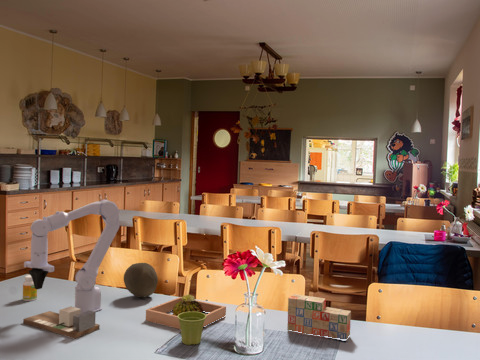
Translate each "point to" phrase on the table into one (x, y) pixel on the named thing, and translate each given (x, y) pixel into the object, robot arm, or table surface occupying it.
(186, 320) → the plant pot
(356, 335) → the table surface
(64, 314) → the block
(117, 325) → the table surface
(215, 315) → the planter frame
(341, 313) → the stack of blocks
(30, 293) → the supplement bottle
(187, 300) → the cactus
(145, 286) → the dark brown ball
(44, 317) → the gauge track
